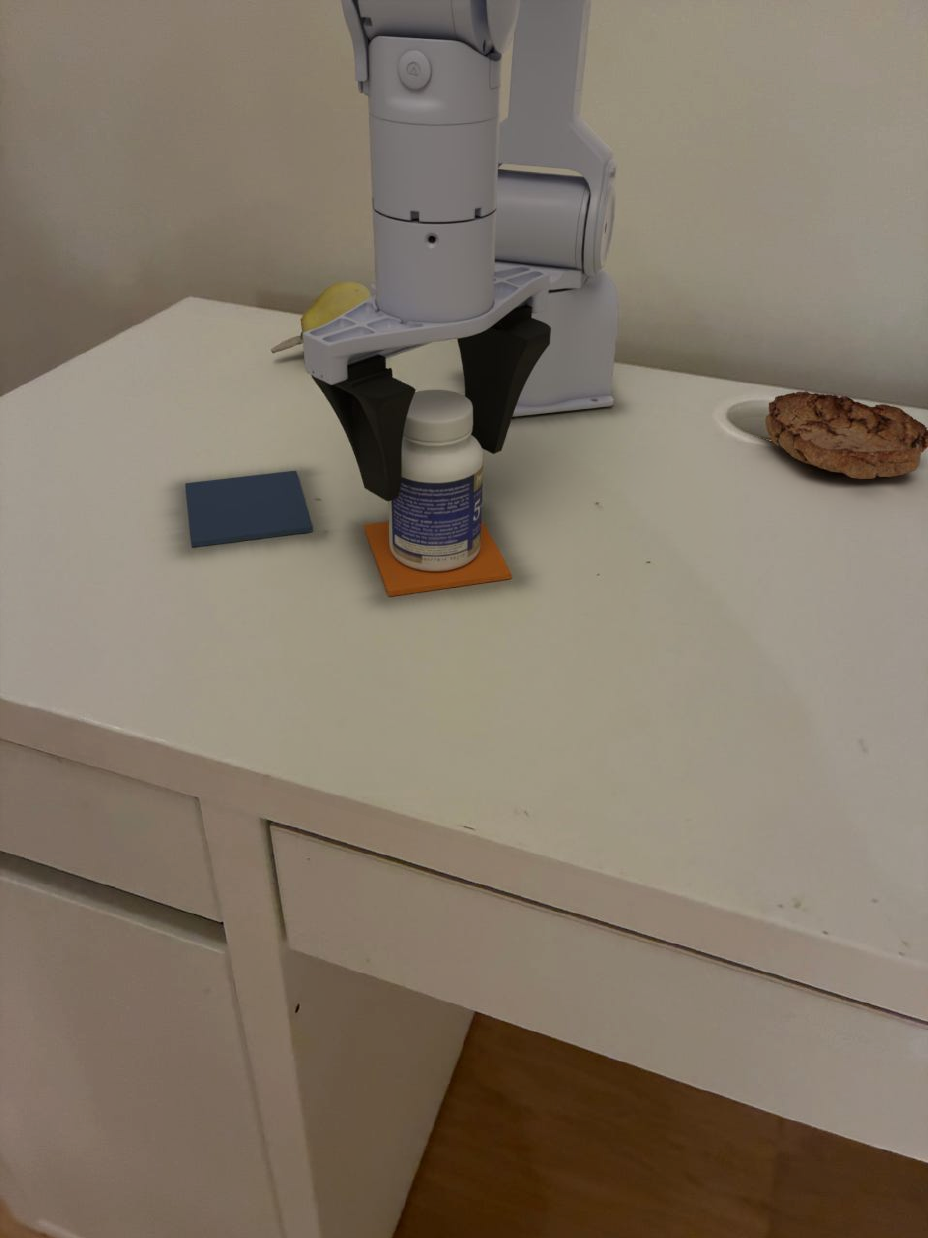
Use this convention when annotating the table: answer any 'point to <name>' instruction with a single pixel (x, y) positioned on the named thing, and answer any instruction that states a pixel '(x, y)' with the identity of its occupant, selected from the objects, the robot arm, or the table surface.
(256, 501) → the blue mat
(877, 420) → the cookie
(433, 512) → the pill bottle
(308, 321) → the fruit
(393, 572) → the amber mat
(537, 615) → the table surface
